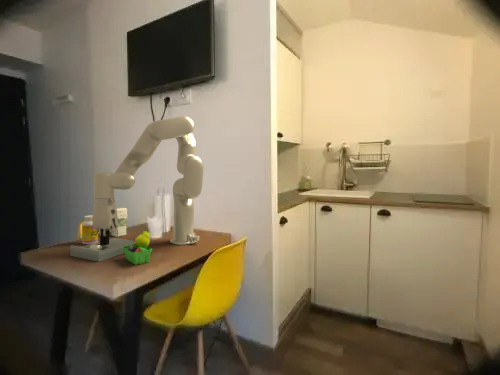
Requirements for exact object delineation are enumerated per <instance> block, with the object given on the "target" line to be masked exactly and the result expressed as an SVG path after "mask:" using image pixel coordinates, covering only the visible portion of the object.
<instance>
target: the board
mask: <svg viewBox="0 0 500 375" xmlns="http://www.w3.org/2000/svg"><path fill="white" fill-rule="evenodd" d="M97 243H99V244H100V241H98V242H97ZM132 244H136V241H135V240H130V239H124V238H119V237H113V238H109V244H108V245H104V246H102V245H101V246H102V250H94V249H89V248H90V246H91V245H92V244H85V245H82V246H77V245H70V246H69V247H70V248H69V249H70V250H69V252H70V254H69V255H70V257H76V258H78V259H79V258H80V259H83V260H84V259H85V260H89V261H94V262H102V261H106V260H108V259H111V258H114V257H116V256H119V255H123V254H125V252H124V250H123V247H124V246H129V245H132Z"/></svg>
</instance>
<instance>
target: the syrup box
mask: <svg viewBox="0 0 500 375" xmlns="http://www.w3.org/2000/svg"><path fill="white" fill-rule="evenodd" d="M116 209H117V216H118V227H117V228H115V232H111V233H110V235H111V236H113V237H114V238H119V237H125V236H127V235H128V208H126V207H116Z"/></svg>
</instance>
